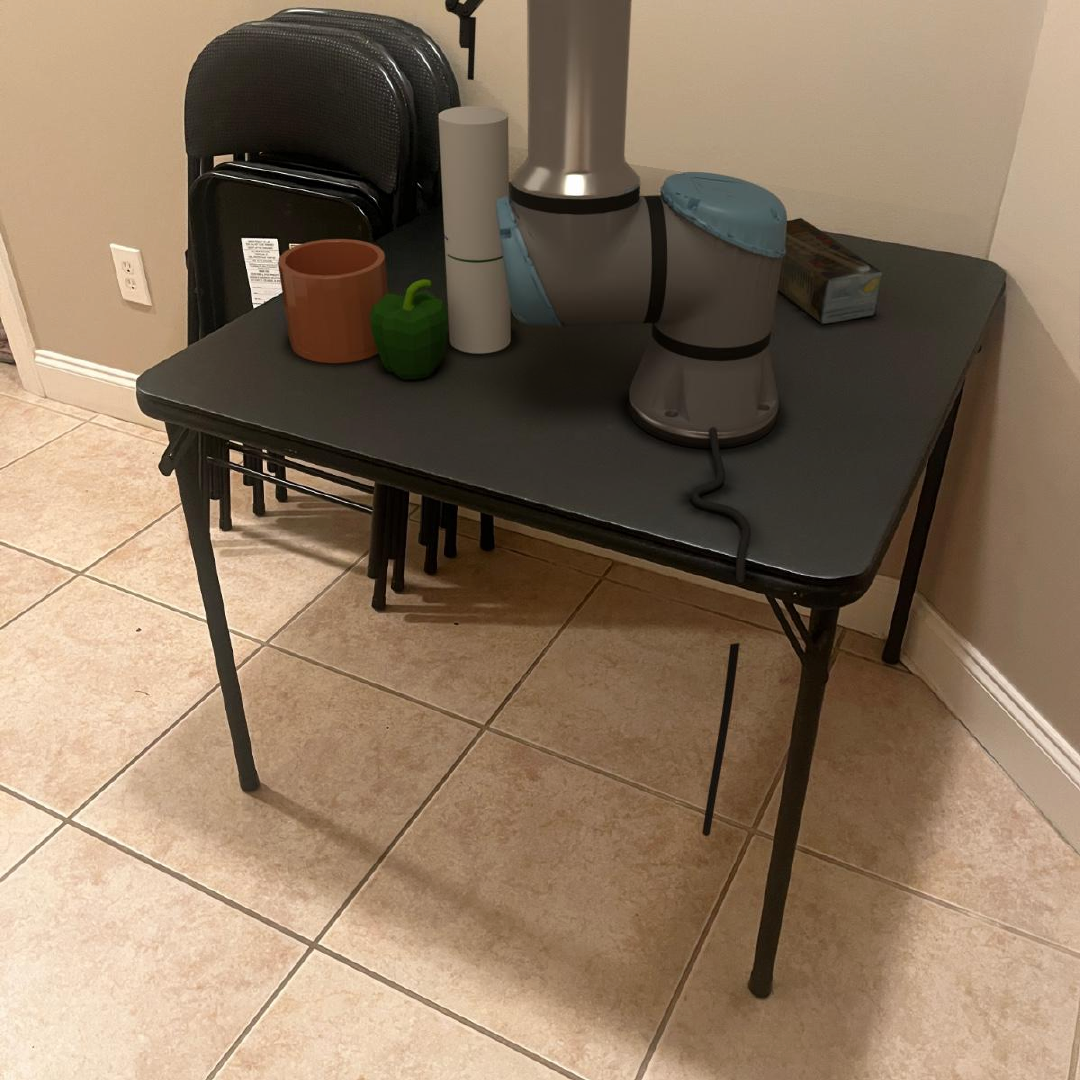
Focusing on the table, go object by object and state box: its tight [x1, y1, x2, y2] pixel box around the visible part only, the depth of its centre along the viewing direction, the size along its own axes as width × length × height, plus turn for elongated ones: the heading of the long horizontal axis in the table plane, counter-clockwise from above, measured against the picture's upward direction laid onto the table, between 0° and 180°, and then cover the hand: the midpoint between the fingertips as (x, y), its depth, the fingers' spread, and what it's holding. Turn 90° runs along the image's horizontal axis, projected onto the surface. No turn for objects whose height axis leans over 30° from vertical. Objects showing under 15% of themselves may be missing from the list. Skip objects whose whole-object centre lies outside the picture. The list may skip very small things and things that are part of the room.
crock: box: [277, 238, 389, 364], centre depth 116 cm, size 12×12×10 cm
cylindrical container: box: [438, 105, 512, 354], centre depth 112 cm, size 7×7×25 cm
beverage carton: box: [778, 217, 883, 325], centre depth 129 cm, size 8×19×7 cm, turn 19°
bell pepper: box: [370, 278, 449, 380], centre depth 110 cm, size 8×8×10 cm
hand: (526, 83), depth 124 cm, fingers open, 13 cm apart
